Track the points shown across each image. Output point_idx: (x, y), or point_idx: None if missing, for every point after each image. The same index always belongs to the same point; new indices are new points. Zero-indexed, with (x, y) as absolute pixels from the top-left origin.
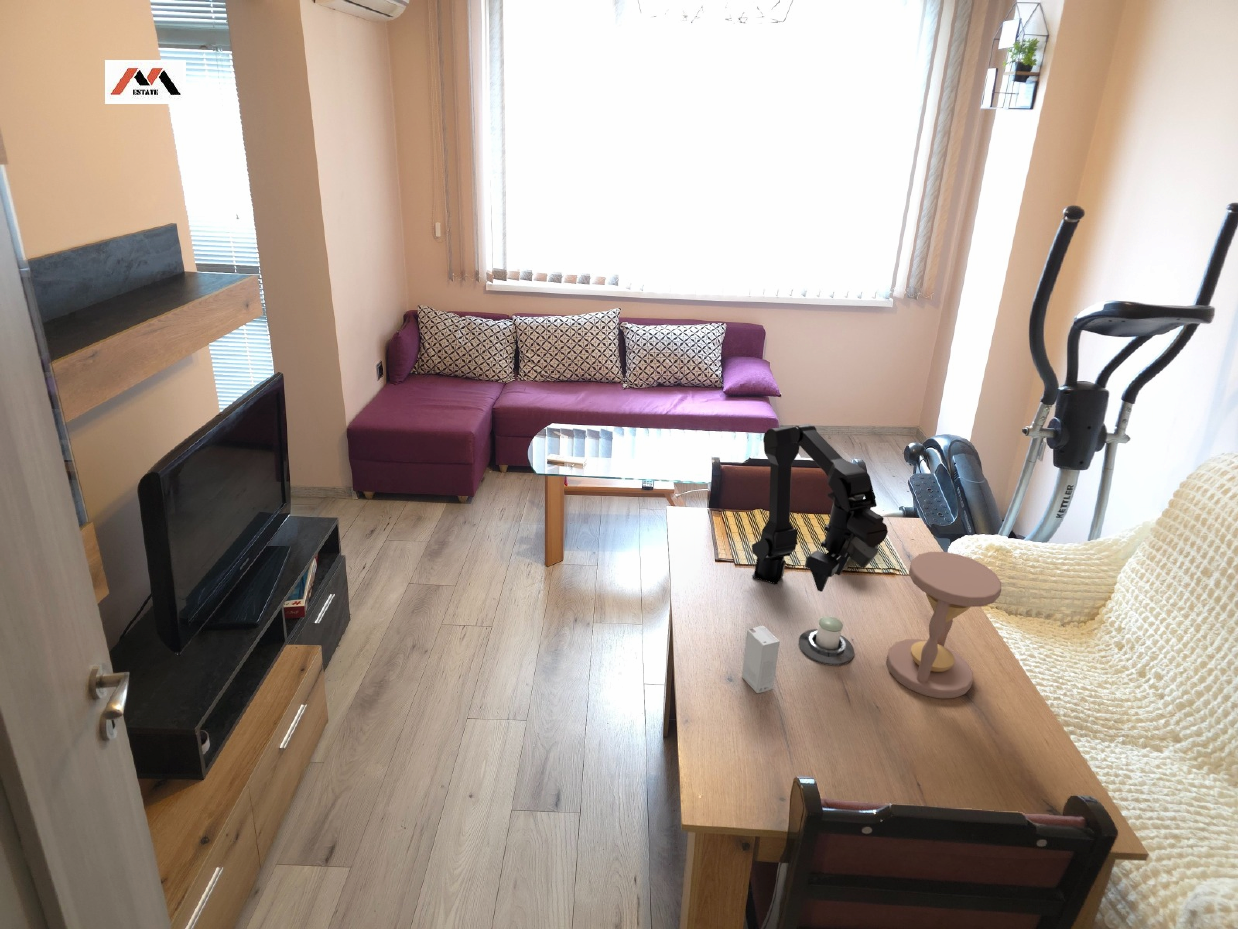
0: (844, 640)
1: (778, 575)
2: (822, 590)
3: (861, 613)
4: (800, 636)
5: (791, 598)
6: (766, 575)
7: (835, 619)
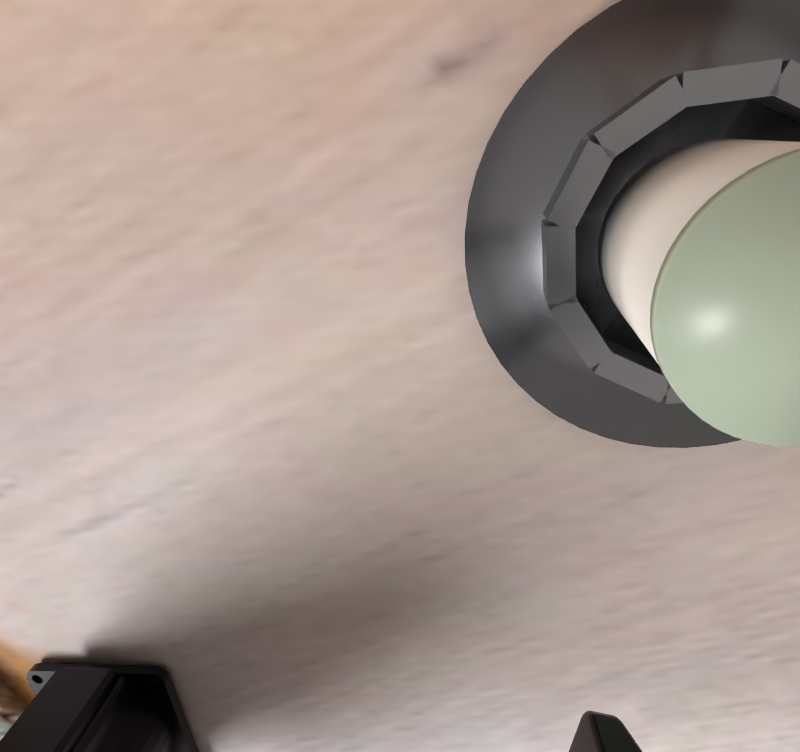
0: (541, 120)
1: (110, 705)
2: (630, 744)
3: (36, 113)
4: (668, 445)
5: (233, 575)
6: (159, 748)
7: (698, 281)
